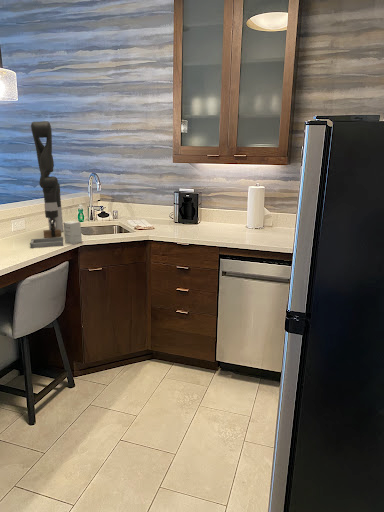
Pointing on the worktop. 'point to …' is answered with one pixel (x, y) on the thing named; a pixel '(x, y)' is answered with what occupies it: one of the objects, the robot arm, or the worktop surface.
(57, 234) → the walnut block
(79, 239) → the supplement box
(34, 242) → the tray
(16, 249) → the worktop surface
